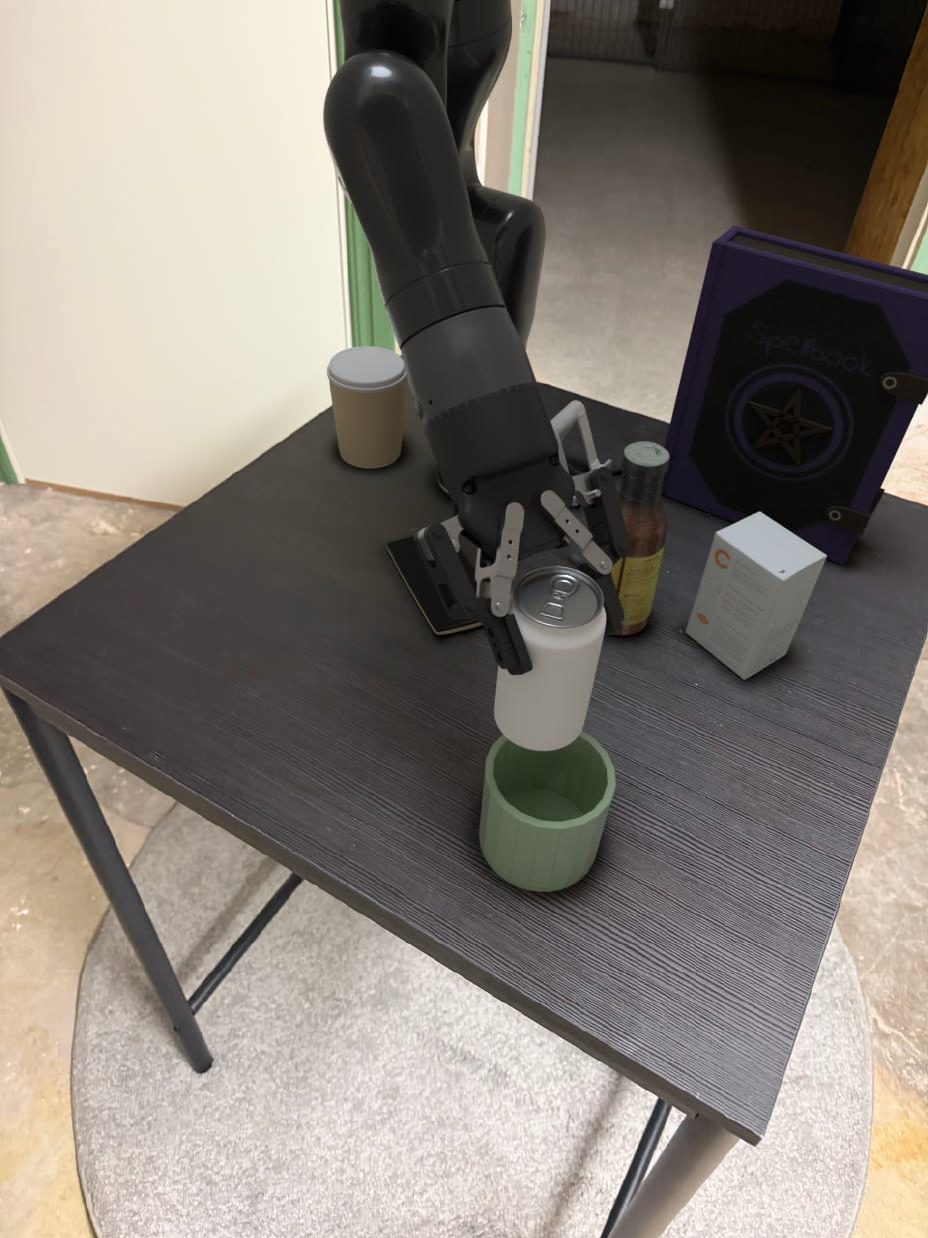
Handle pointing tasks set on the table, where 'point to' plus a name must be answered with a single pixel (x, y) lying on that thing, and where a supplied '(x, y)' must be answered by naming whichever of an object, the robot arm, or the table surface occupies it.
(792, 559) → the small box
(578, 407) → the tablet stand
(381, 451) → the coffee cup
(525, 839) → the holder
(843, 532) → the book
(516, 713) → the can
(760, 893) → the table surface
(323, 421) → the table surface
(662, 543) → the sauce bottle
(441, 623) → the smartphone
